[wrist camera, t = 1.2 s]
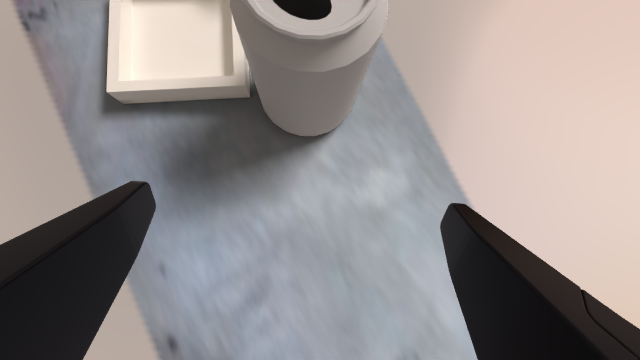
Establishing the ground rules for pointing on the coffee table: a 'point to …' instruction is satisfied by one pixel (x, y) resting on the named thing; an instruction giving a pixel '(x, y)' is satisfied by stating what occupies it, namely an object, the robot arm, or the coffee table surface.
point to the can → (309, 56)
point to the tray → (174, 51)
